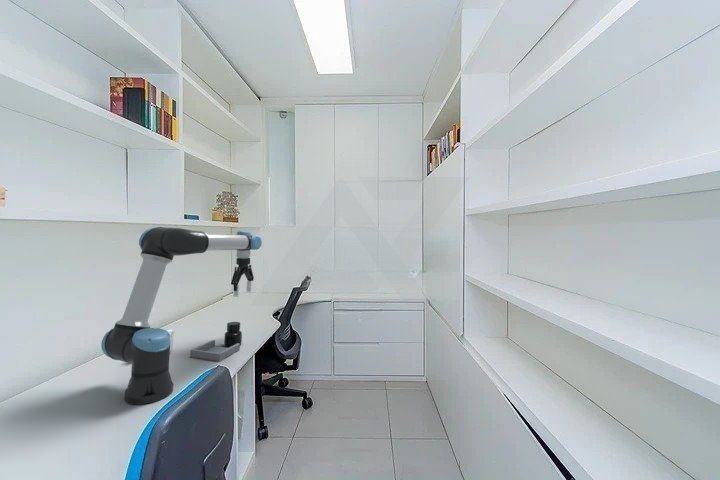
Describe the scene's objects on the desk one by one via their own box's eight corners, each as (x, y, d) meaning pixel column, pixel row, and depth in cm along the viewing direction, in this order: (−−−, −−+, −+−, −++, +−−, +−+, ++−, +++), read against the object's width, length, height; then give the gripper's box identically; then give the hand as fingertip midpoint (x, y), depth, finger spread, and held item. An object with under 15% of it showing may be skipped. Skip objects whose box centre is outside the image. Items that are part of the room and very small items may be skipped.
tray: (219, 361, 148) (219, 354, 148) (190, 357, 151) (190, 350, 151) (239, 350, 163) (239, 343, 163) (212, 346, 167) (212, 340, 167)
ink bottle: (244, 343, 175) (245, 321, 175) (237, 348, 166) (238, 326, 166) (228, 341, 176) (229, 320, 176) (220, 346, 167) (221, 324, 167)
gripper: (237, 259, 166) (236, 299, 166) (260, 256, 190) (259, 290, 191) (224, 259, 167) (223, 298, 168) (248, 255, 192) (248, 289, 192)
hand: (242, 294), depth 179 cm, fingers open, 13 cm apart
